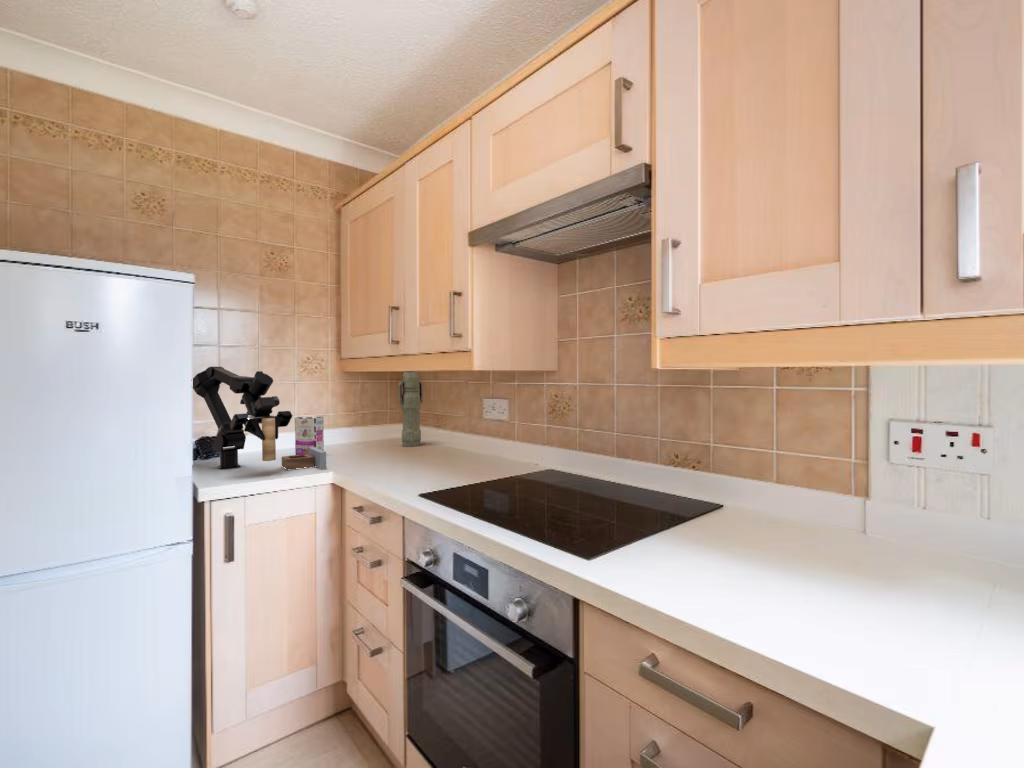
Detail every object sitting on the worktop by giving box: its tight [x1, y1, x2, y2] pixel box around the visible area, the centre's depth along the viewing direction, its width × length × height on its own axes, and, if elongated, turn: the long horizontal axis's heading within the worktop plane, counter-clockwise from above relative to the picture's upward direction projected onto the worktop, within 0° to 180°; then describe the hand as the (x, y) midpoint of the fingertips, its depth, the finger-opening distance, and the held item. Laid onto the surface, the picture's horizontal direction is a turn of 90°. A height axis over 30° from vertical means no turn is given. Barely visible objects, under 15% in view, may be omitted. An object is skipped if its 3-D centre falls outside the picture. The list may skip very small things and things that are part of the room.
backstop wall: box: [309, 447, 327, 470], centre depth 178 cm, size 16×2×6 cm, turn 36°
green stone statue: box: [397, 371, 424, 448], centre depth 230 cm, size 9×12×35 cm
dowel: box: [261, 418, 277, 462], centre depth 163 cm, size 4×4×14 cm
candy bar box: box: [294, 415, 325, 455], centre depth 202 cm, size 11×5×16 cm, turn 68°
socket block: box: [281, 454, 315, 470], centre depth 177 cm, size 9×9×4 cm
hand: (270, 438), depth 162 cm, fingers closed on dowel, 4 cm apart
